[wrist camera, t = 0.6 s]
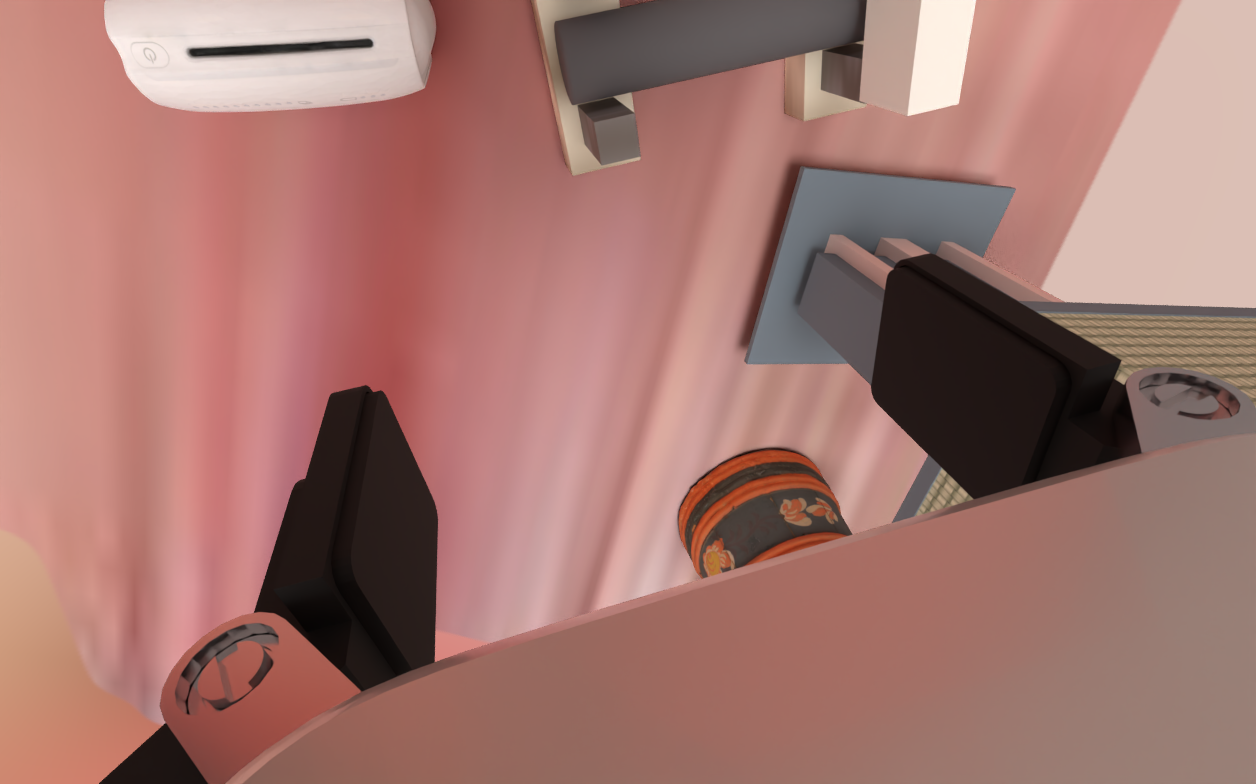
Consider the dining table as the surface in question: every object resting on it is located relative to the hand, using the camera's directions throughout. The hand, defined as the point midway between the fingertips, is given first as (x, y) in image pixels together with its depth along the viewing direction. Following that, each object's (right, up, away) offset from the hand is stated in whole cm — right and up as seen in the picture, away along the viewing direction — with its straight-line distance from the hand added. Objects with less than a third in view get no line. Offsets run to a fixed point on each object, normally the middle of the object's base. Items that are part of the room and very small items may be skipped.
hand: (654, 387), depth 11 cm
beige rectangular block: (+12, +18, +17) cm, 28 cm away
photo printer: (-15, +18, +18) cm, 30 cm away
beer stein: (+11, -13, +48) cm, 51 cm away
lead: (+4, +19, +20) cm, 28 cm away
